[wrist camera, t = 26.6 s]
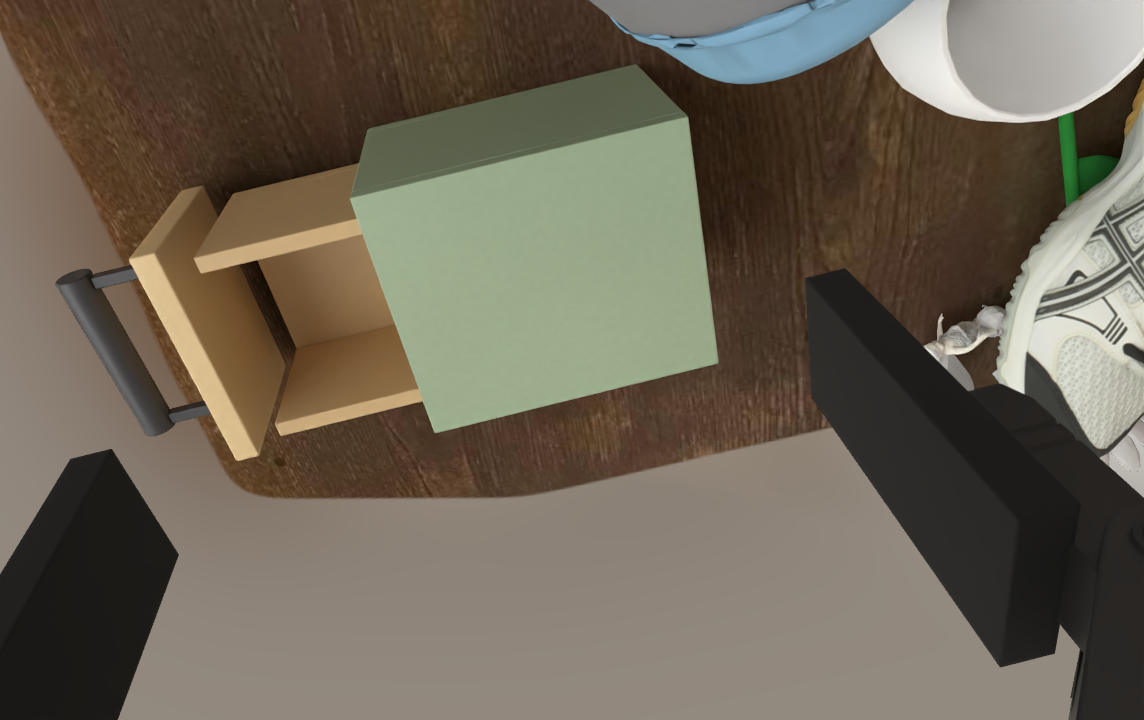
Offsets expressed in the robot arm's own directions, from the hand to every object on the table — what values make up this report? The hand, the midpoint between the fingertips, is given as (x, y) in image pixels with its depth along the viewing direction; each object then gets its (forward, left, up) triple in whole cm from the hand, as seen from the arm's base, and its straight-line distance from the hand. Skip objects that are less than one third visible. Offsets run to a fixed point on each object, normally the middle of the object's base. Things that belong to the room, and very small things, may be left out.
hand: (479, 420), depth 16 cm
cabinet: (+7, -5, -32) cm, 33 cm away
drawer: (-3, -13, -31) cm, 34 cm away
